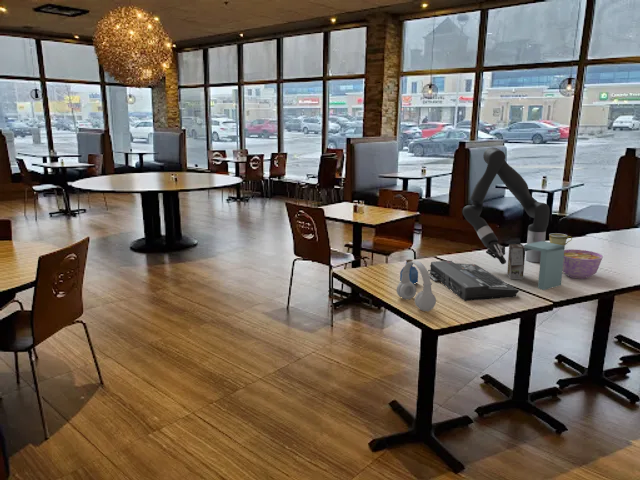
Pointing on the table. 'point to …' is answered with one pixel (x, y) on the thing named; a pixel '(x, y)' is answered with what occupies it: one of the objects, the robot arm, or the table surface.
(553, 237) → the ceramic cup
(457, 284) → the vintage computer
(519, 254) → the coffee box
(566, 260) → the bowl of food
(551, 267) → the bracket
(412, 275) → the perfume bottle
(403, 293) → the headphones
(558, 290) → the table surface
